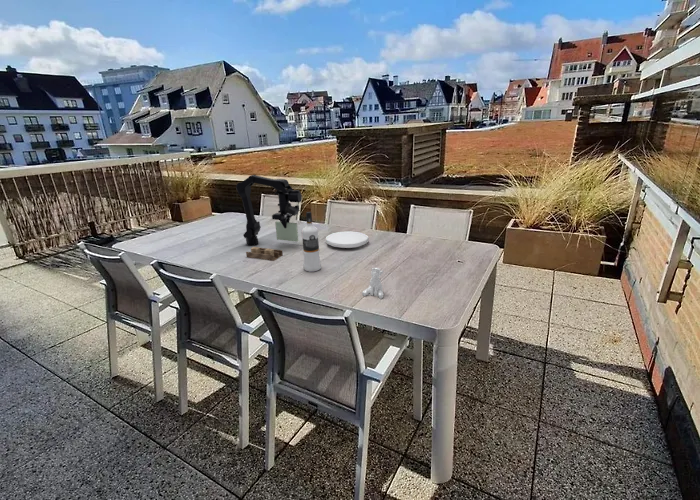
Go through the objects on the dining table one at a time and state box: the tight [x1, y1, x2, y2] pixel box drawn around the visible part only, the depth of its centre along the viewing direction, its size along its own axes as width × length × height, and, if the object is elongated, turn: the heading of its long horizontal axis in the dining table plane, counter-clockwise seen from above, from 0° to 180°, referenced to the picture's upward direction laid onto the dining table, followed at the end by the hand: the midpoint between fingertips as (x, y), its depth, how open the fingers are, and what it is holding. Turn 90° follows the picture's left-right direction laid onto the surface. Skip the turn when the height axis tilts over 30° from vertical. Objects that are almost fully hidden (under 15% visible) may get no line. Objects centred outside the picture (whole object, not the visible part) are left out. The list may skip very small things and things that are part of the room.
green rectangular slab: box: [274, 220, 299, 243], centre depth 208 cm, size 14×2×11 cm, turn 68°
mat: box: [280, 242, 303, 247], centre depth 211 cm, size 18×12×1 cm, turn 68°
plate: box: [325, 230, 370, 249], centre depth 216 cm, size 28×6×27 cm
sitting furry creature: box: [361, 267, 384, 300], centre depth 150 cm, size 10×9×12 cm
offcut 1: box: [250, 246, 261, 253], centre depth 196 cm, size 4×3×5 cm
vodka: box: [301, 211, 322, 273], centre depth 175 cm, size 9×9×30 cm
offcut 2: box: [264, 247, 274, 255], centre depth 192 cm, size 4×3×5 cm
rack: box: [245, 247, 284, 262], centre depth 196 cm, size 18×9×4 cm, turn 68°
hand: (286, 227), depth 207 cm, fingers closed on green rectangular slab, 2 cm apart
